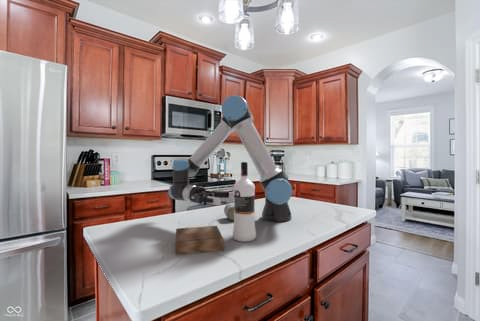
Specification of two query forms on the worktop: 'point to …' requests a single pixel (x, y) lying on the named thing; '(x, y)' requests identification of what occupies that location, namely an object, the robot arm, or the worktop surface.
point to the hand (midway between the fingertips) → (231, 198)
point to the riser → (198, 240)
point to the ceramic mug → (229, 211)
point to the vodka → (244, 207)
